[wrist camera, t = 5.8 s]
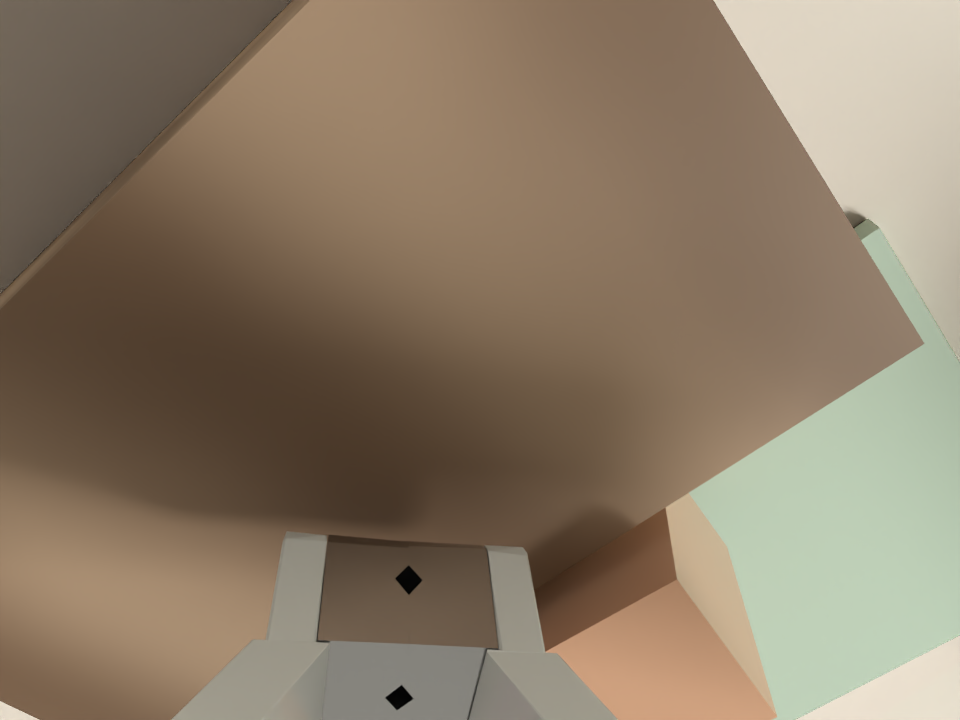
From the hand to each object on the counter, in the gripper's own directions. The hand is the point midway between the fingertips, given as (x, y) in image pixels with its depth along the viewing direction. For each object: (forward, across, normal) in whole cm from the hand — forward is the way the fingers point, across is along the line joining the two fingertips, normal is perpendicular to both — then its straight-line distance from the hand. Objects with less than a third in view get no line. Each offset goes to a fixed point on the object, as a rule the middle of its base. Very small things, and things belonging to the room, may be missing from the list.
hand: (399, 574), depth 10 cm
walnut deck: (+5, +1, -1) cm, 5 cm away
